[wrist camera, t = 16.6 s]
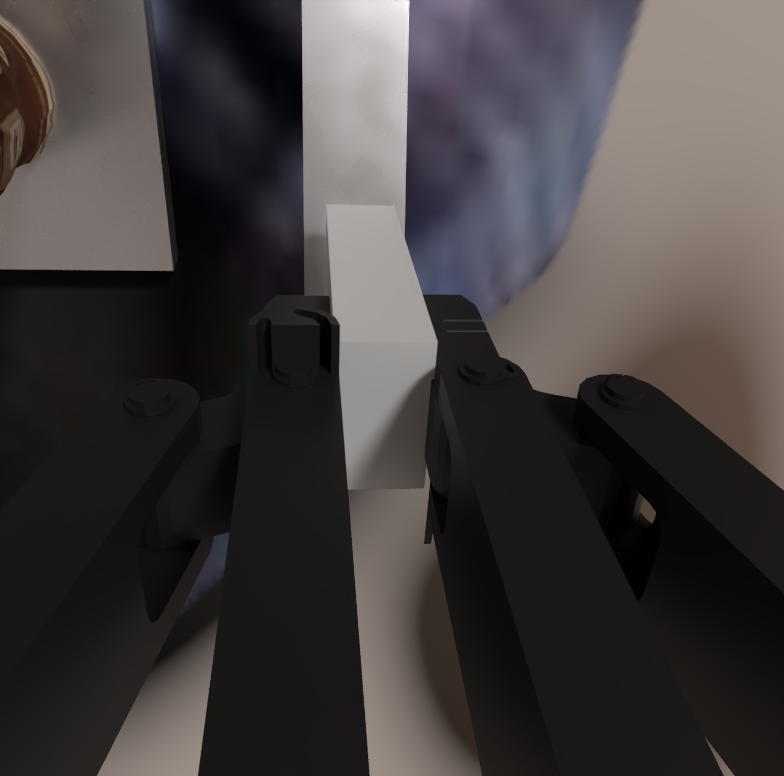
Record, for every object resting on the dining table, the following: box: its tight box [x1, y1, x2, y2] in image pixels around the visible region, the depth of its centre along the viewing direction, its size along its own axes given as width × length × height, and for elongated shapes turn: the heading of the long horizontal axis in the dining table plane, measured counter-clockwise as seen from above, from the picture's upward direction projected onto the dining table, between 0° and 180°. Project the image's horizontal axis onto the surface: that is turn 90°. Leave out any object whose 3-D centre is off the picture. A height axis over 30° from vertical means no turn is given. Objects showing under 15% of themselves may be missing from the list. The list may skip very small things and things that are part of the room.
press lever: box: [302, 0, 409, 296], centre depth 18 cm, size 15×4×3 cm, turn 177°
